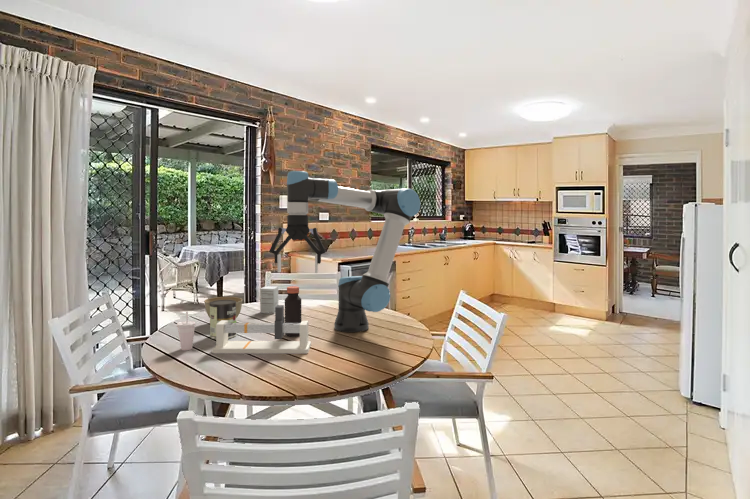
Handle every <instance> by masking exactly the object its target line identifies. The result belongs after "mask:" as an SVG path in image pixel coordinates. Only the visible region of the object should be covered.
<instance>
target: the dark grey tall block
mask: <svg viewBox="0 0 750 499" xmlns="http://www.w3.org/2000/svg"><path fill="white" fill-rule="evenodd" d="M274 314H275V315H274V316H275V317H274V323H275V333H274V340H282V339H283V337H284V336H285V333H282V324H283V323H285V304H278V305H277V306H276V307H275V313H274Z"/></svg>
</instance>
